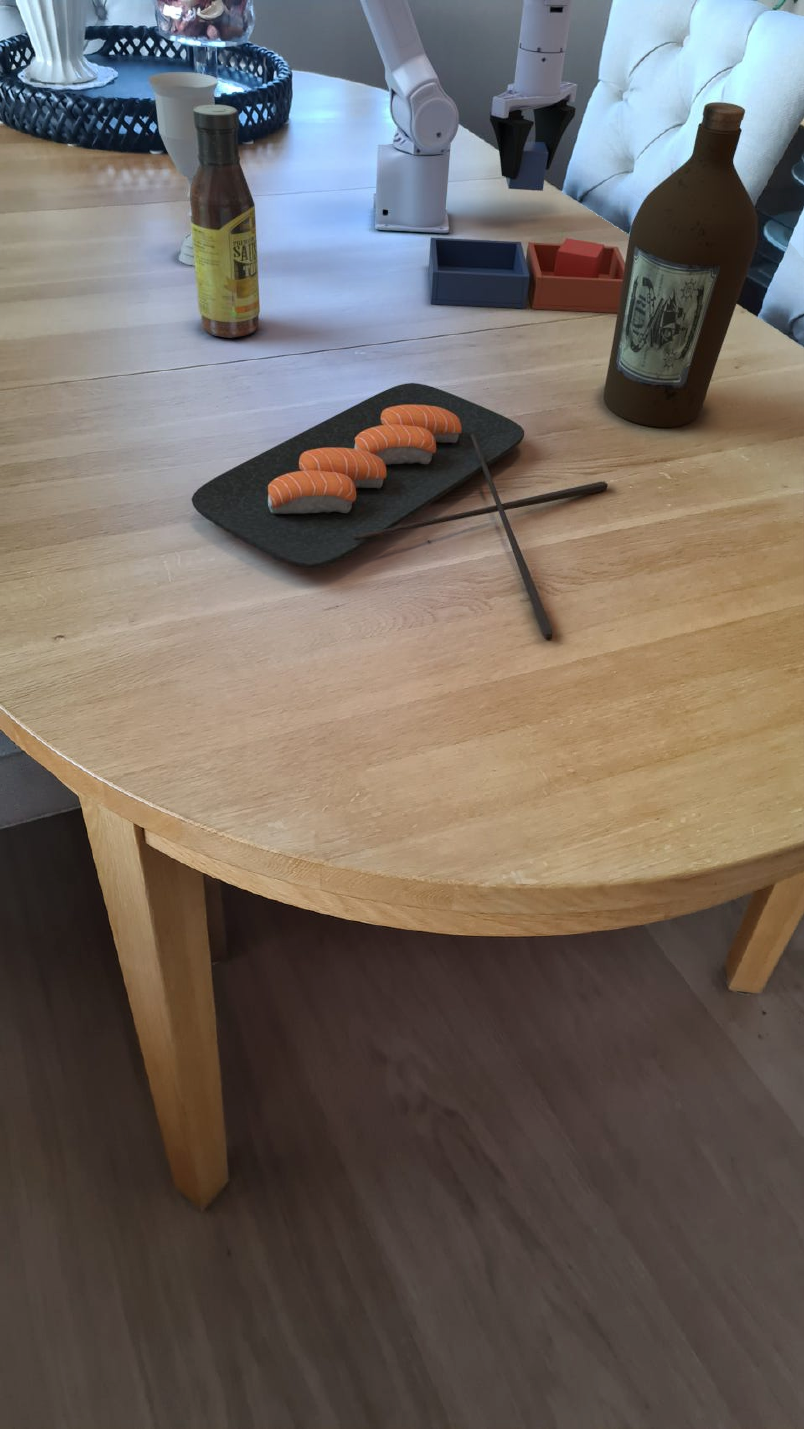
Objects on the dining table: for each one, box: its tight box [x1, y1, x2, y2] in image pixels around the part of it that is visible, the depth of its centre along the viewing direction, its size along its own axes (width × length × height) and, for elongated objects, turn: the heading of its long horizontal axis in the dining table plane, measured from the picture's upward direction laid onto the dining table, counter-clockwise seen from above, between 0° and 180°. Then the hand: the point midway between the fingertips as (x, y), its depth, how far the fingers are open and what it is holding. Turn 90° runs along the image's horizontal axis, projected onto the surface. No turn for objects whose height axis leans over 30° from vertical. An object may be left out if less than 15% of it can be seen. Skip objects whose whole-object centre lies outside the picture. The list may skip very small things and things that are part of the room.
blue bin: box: [428, 237, 530, 309], centre depth 110 cm, size 11×11×4 cm
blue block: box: [505, 140, 548, 192], centre depth 125 cm, size 4×4×4 cm
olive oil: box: [603, 101, 759, 428], centre depth 84 cm, size 11×11×25 cm
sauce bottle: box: [189, 104, 261, 339], centre depth 94 cm, size 7×6×20 cm
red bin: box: [525, 242, 625, 314], centre depth 111 cm, size 11×11×4 cm
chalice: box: [147, 71, 219, 267], centre depth 108 cm, size 7×7×18 cm
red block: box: [554, 237, 605, 278], centre depth 110 cm, size 4×4×4 cm
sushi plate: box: [191, 382, 609, 640], centre depth 76 cm, size 29×30×4 cm
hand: (525, 172), depth 126 cm, fingers closed on blue block, 6 cm apart
